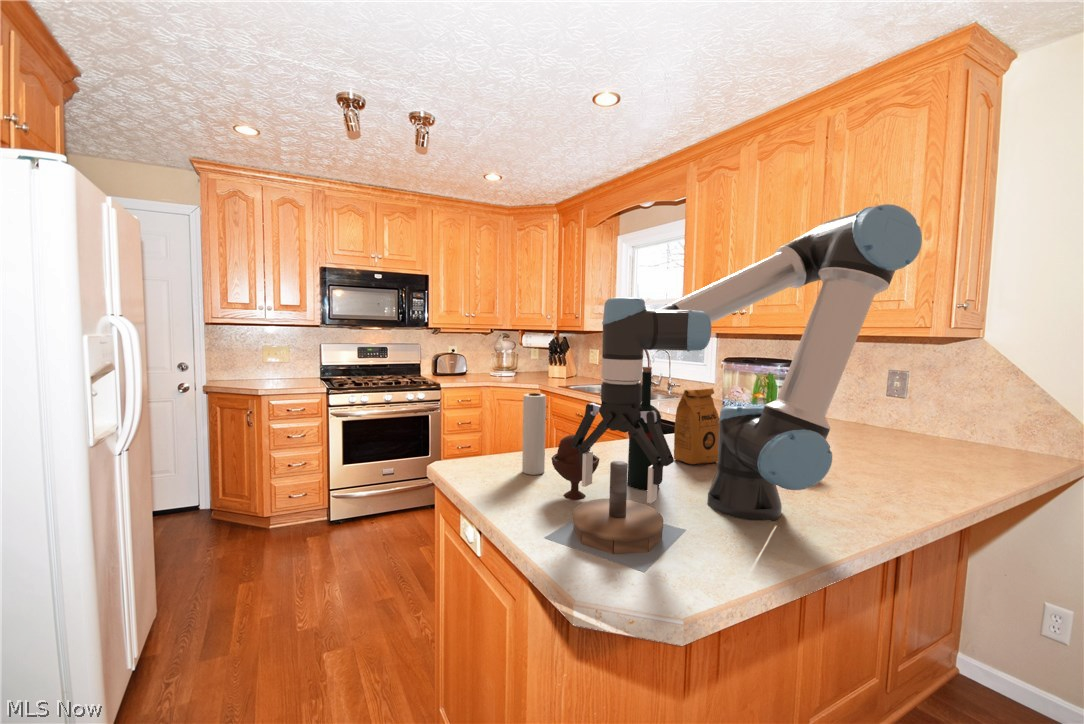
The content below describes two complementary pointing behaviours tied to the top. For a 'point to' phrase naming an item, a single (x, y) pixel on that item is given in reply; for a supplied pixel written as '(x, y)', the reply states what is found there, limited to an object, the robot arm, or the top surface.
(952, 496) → the top surface
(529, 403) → the paper towel roll
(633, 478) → the wine bottle
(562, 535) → the mat
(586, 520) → the lid
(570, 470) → the ice cream bowl
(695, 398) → the coffee package
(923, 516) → the top surface
